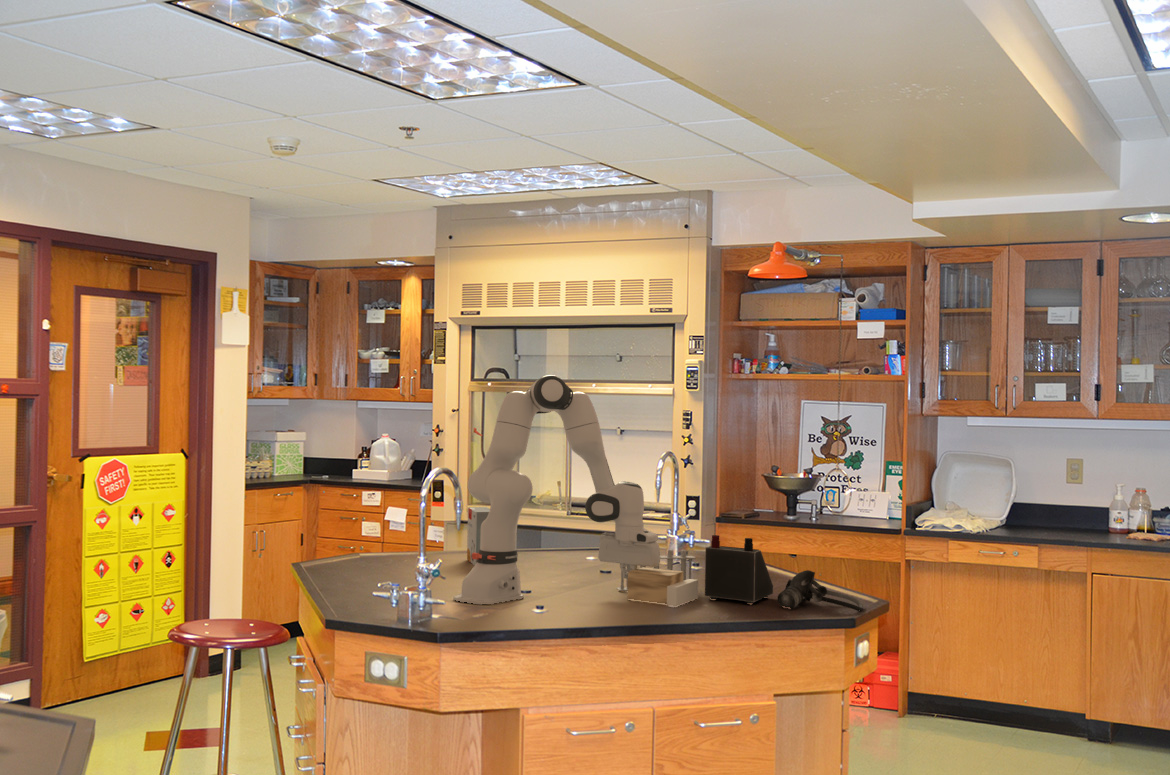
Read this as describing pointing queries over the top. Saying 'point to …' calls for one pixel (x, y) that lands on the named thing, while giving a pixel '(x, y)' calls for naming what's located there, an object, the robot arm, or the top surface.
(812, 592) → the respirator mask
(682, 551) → the test tube rack
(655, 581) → the oak block
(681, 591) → the board
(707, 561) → the voltmeter
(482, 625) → the top surface
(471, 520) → the hard drive box
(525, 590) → the top surface
